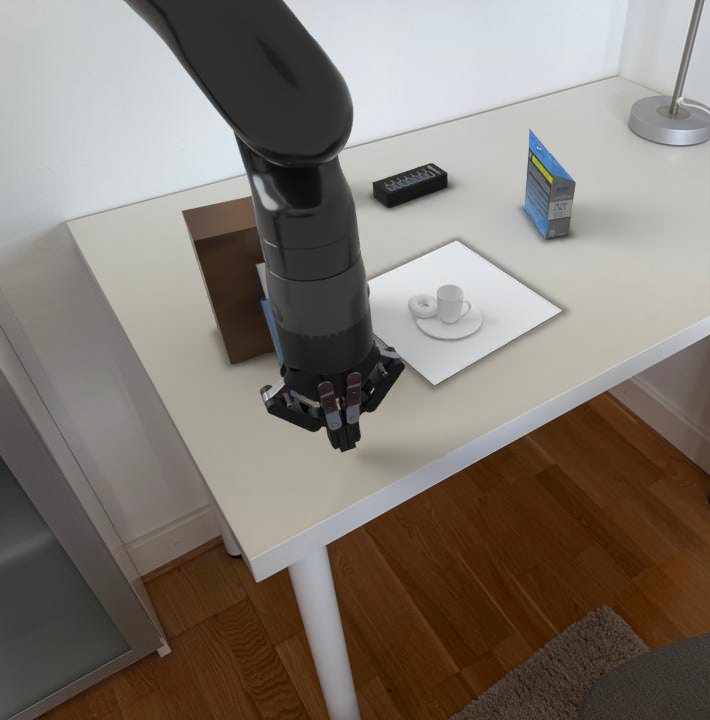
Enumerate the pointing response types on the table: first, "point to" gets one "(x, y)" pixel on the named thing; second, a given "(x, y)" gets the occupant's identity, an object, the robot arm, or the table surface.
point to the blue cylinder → (270, 316)
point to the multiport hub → (410, 185)
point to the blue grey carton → (548, 191)
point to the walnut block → (231, 274)
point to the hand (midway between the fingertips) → (345, 444)
